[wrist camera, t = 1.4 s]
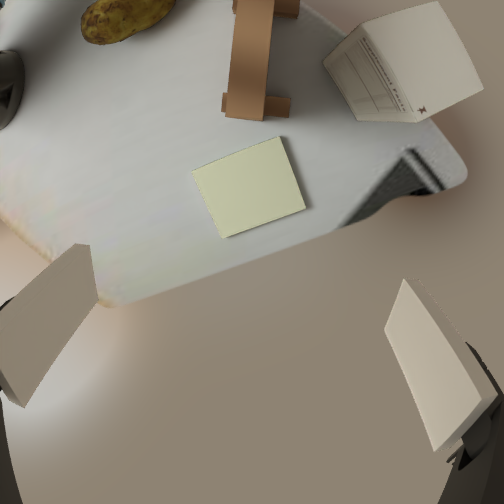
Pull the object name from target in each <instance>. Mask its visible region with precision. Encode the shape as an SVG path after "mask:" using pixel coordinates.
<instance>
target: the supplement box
mask: <svg viewBox="0 0 504 504" xmlns="http://www.w3.org/2000/svg"><path fill="white" fill-rule="evenodd" d="M322 63H323V64H324V66H325V68H326V69H327V71H328V72H329V74H330V76H331V77H332V79H333V80H334V82H335V83H336V85H337V87H338V88H339V90H340V91H341V93H342V95H343V96H344V98H345V100H346V102H347V103H348V105H349V107H350V108H351V110H352V112H353V114H354V116H355V117H356V119H357V121H387V122H408V123H418V122H420V121H422V120H424V119H426V118H428V117H430V116H431V115H434V114H435V113H438V112H440V111H442V110H444V109H446V108H447V107H450V106H451V105H454V104H455V103H457V102H459V101H462V100H464V99H466V98H468V97H470V96H472V95H474V94H476V93H478V92H480V91H482V90H484V87H483V85H482V82H481V80H480V78H479V76H478V73H477V71H476V69H475V67H474V65H473V63H472V61H471V58H470V56H469V54H468V52H467V50H466V48H465V47H464V45H463V43H462V41H461V39H460V37H459V35H458V34H457V32H456V30H455V28H454V27H453V25H452V23H451V22H450V20H449V18H448V17H447V15H446V13H445V12H444V10H443V9H442V7H441V6H440V4H439V2H438V1H433V2H429V3H426V4H422V5H418V6H415V7H410V8H407V9H404V10H400V11H397V12H394V13H390V14H387V15H384V16H381V17H378V18H375V19H372V20H369V21H366V22H363V23H361V24H359V25H358V26H357V27H356V28H355V29H354V30H353V31H352V32H351V33H350V34H349V35H348V36H347V37H346V38H345V39H344V40H342V41H341V42H340V43H339V44H338V45H337V47H336V48H335V49H334V50H333V51H332V52H331V53H330V54H329V55H328V56H327V57H326V58H325V59H324V60H323V61H322Z"/></svg>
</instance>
